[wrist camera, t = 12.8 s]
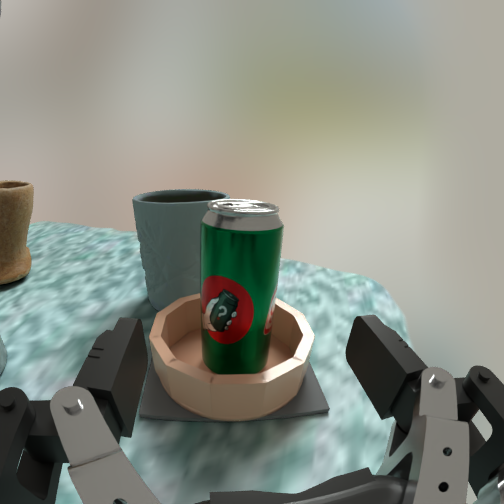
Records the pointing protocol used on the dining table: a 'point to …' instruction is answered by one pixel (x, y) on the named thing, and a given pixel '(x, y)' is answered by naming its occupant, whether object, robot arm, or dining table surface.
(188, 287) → the grey-green tumbler
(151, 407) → the mat
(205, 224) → the soda can
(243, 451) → the dining table surface
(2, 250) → the tan boot
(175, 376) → the bowl
